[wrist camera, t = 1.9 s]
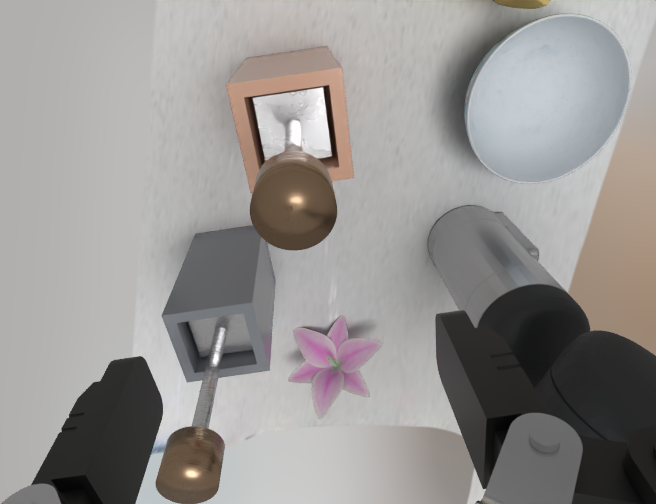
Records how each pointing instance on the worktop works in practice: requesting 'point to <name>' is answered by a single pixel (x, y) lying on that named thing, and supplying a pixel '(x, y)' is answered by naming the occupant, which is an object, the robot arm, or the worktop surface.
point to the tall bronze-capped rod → (202, 418)
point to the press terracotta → (282, 77)
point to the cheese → (523, 3)
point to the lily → (332, 363)
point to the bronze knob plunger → (293, 170)
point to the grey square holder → (223, 298)
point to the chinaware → (547, 98)
